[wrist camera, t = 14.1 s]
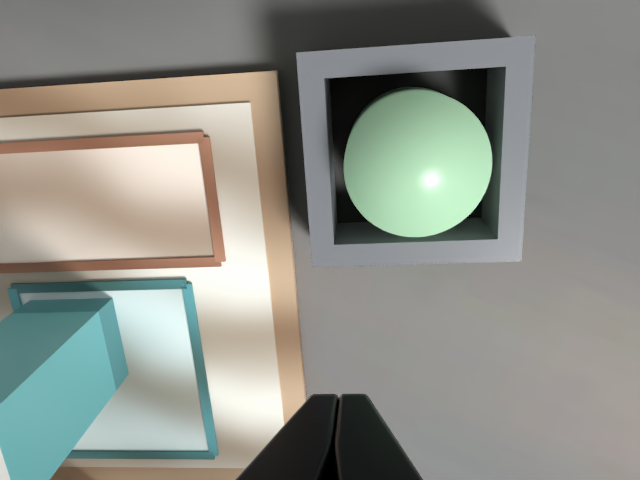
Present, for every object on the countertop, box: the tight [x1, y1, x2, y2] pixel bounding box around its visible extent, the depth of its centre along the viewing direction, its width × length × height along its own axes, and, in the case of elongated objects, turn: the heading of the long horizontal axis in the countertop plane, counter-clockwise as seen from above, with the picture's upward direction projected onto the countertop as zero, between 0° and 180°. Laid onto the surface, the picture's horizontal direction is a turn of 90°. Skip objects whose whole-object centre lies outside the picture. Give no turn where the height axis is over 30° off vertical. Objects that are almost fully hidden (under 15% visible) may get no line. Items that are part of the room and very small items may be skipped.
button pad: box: [296, 36, 536, 267], centre depth 18 cm, size 7×7×2 cm
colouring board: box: [0, 70, 306, 480], centre depth 22 cm, size 18×15×1 cm
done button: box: [344, 87, 492, 237], centre depth 17 cm, size 4×4×3 cm
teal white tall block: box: [0, 298, 129, 480], centre depth 18 cm, size 4×4×8 cm
